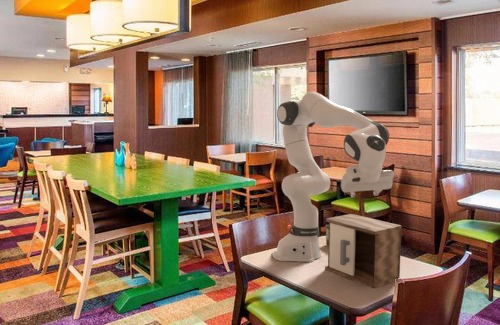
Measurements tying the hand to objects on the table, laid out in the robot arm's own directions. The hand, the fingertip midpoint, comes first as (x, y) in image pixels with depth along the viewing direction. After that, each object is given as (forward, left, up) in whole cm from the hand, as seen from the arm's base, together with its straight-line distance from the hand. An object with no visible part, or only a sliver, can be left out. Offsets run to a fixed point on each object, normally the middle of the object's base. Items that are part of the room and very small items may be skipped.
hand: (364, 195), depth 196 cm
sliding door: (-11, -3, -31) cm, 33 cm away
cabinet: (0, -2, -32) cm, 33 cm away
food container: (-1, +36, -33) cm, 49 cm away
